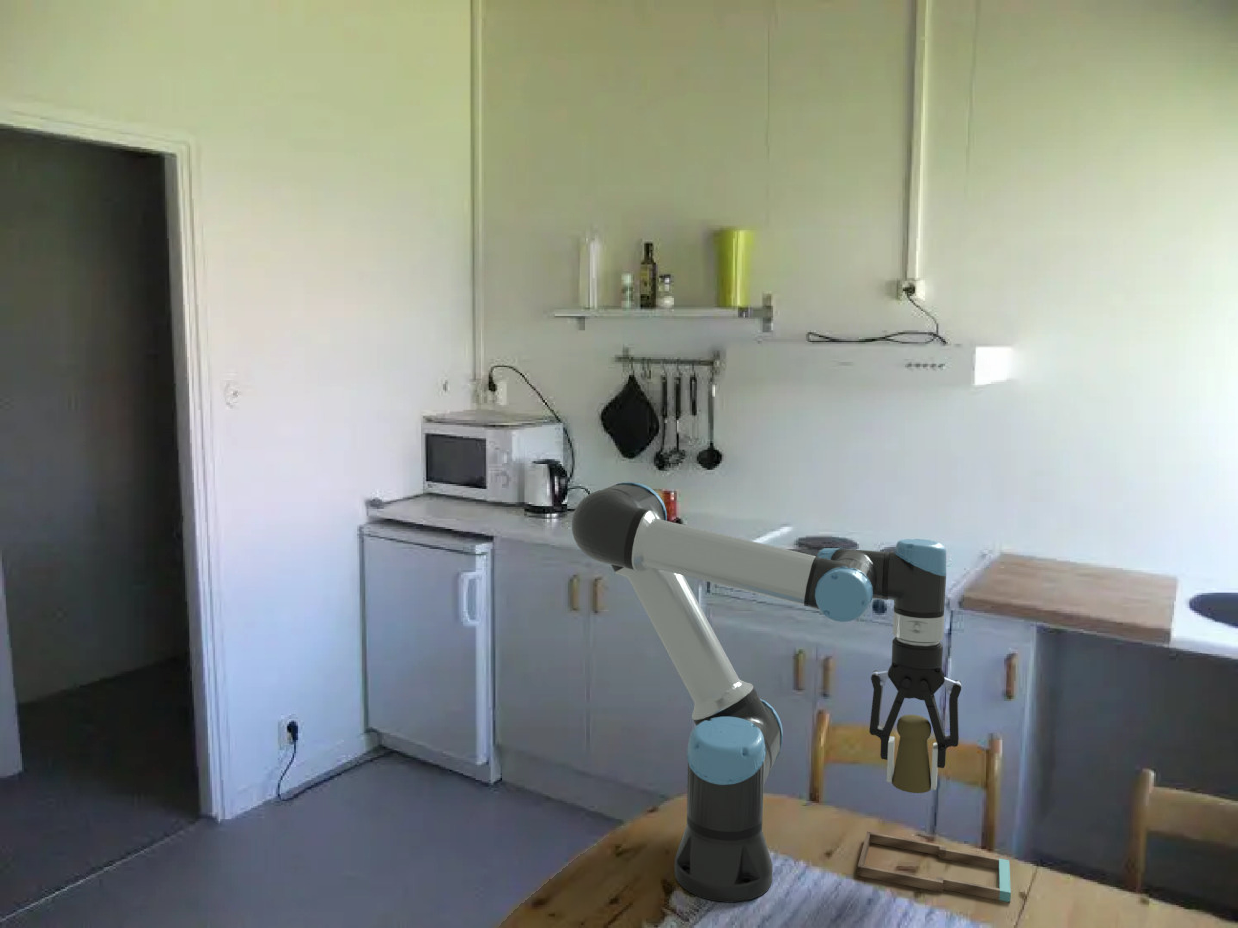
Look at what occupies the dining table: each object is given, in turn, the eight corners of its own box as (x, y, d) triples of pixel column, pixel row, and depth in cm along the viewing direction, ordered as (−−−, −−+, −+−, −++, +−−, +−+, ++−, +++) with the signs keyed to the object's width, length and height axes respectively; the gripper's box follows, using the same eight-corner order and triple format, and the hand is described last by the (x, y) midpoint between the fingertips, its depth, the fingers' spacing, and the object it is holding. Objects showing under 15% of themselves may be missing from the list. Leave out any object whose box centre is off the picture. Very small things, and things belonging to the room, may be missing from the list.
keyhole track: (857, 875, 147) (857, 866, 147) (866, 840, 159) (867, 831, 158) (1010, 905, 139) (1010, 896, 139) (1008, 866, 151) (1009, 857, 150)
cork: (934, 794, 145) (937, 725, 144) (893, 791, 147) (896, 722, 146) (929, 778, 151) (932, 712, 150) (890, 775, 153) (892, 709, 152)
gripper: (852, 638, 147) (847, 782, 149) (982, 652, 140) (975, 802, 142) (858, 627, 154) (853, 764, 156) (982, 640, 147) (975, 783, 149)
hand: (911, 782), depth 149 cm, fingers closed on cork, 6 cm apart
